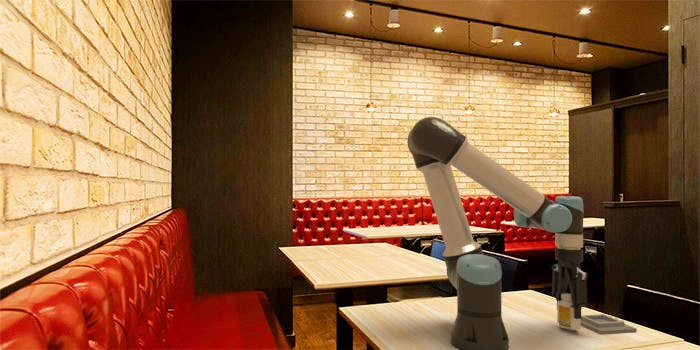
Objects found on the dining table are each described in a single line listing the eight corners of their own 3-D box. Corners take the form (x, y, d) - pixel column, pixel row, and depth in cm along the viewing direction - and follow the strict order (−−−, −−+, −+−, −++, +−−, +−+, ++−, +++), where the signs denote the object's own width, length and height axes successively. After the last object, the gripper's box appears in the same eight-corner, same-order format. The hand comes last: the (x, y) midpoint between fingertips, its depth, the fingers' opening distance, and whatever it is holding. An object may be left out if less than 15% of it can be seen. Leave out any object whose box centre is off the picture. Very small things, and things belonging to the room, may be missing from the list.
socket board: (600, 334, 131) (600, 326, 131) (569, 320, 145) (568, 313, 145) (636, 332, 134) (636, 324, 134) (602, 318, 147) (602, 311, 147)
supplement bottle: (565, 323, 139) (565, 291, 139) (582, 328, 135) (582, 295, 135) (555, 326, 136) (555, 293, 136) (572, 330, 132) (572, 297, 132)
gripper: (602, 252, 127) (602, 335, 127) (560, 243, 146) (560, 316, 145) (578, 252, 126) (578, 336, 126) (539, 243, 144) (539, 317, 144)
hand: (568, 325), depth 135 cm, fingers closed on supplement bottle, 5 cm apart
